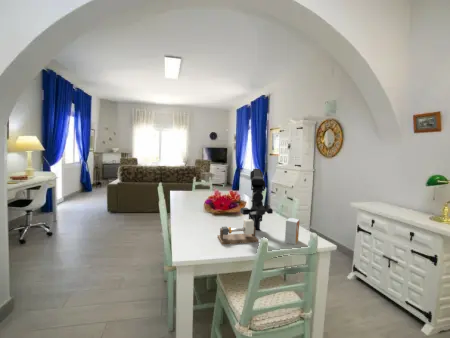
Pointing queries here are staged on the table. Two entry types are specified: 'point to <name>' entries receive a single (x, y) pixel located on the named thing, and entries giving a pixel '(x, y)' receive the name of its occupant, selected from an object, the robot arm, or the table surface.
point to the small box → (292, 231)
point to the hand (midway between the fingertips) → (255, 224)
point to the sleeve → (248, 226)
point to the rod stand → (236, 236)
